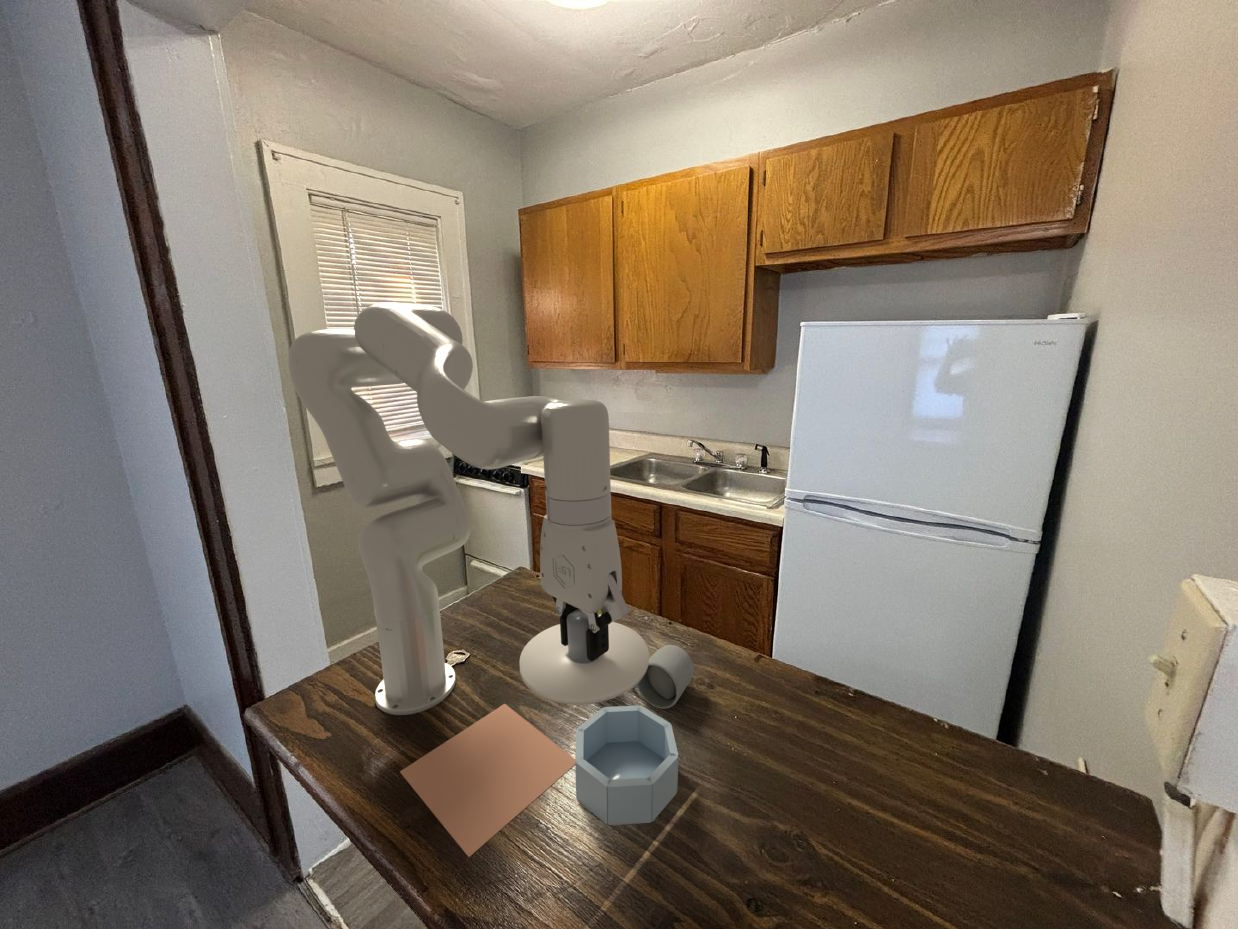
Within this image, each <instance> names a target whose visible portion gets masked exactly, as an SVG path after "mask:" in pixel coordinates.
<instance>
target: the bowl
mask: <svg viewBox="0 0 1238 929" xmlns="http://www.w3.org/2000/svg"><path fill="white" fill-rule="evenodd" d="M675 739H676V738H675V735H674V731H673V725H672V724H671V723H670V722H669V721H667V720H666V719H664V718H662V717H661V716H659V715H657V714H656V713H655V712H653V711H651V710H649V709H647V708H646V707H644V706H642V705H637V704H636V705H620V706H619V705H618V706H604V707H602V708H601V709H599V710H597V712H595V713H594V714H592V716H590V717H589V718H588V719H587V720H585V721H584V722H583V723H582V724H581V725H579V726H578V727H577V728H576V730H575V757H574V759H575V765H574V766H575V796H576V800H577V801H579V802H580V804H582V805H583V806H584V807H585V808H587V810H589V811H590V812H591V813H592V814H593V815H595V816H596V817H597V819H600V820H601V821H602V822H603V823H604V824H605V825H606V826H607V825H608V826H617V825H618V826H620V825H635V824H649V823H652V822H654V821H655V820H656V818H658V816H659V815H660V814H661V812H662V811H663V810H664V809H665V808H666V806H667V805H668V804H669V803H670V802H671V801H672V799H674V797H675V796H676V795H677V793H678V780H679V776H678V775H679V752H678V748H677V742H676V740H675Z"/></svg>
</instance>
